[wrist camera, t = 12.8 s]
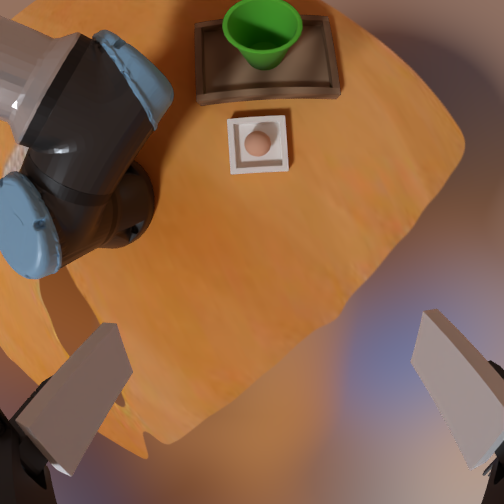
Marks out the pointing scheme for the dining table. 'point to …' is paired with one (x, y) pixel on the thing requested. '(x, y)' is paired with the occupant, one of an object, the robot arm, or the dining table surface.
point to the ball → (257, 143)
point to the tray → (269, 81)
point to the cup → (262, 30)
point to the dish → (267, 163)
